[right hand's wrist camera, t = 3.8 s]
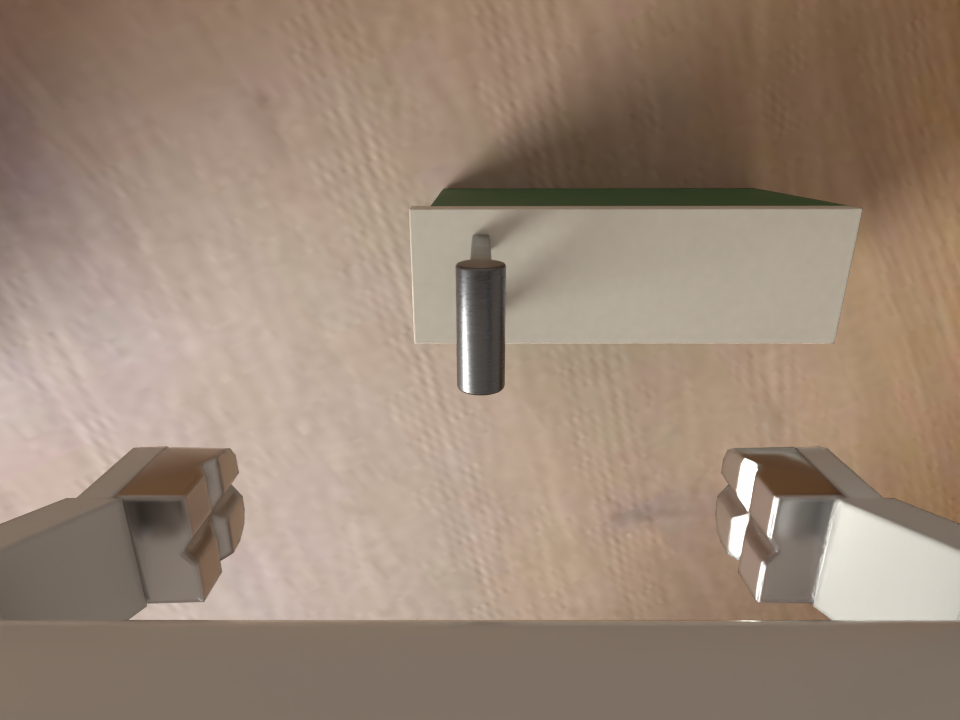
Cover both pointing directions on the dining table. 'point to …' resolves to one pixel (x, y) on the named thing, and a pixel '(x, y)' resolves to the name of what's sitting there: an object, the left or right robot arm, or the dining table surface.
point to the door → (624, 277)
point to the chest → (622, 197)
